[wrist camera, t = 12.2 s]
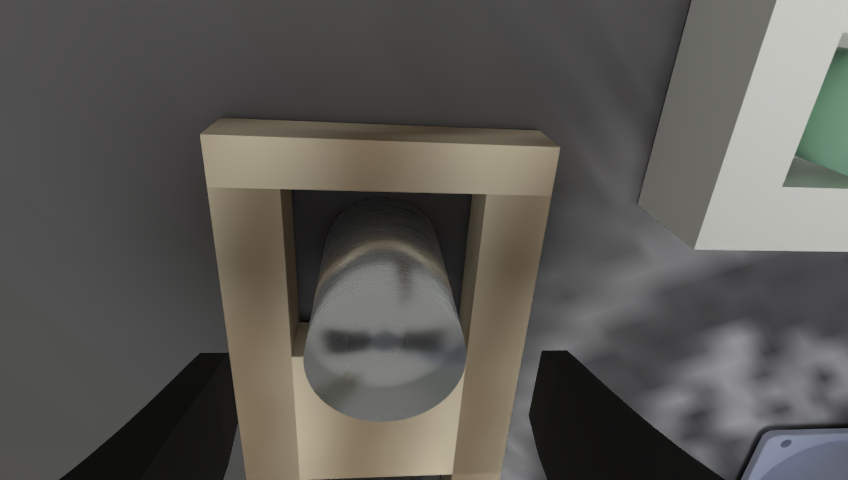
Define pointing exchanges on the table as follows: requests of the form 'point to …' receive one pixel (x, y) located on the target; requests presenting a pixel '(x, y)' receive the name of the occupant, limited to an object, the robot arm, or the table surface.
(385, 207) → the cylinder
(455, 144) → the board
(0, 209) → the table surface
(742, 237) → the button box
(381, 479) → the cylinder
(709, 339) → the table surface
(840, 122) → the button
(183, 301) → the table surface
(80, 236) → the table surface
